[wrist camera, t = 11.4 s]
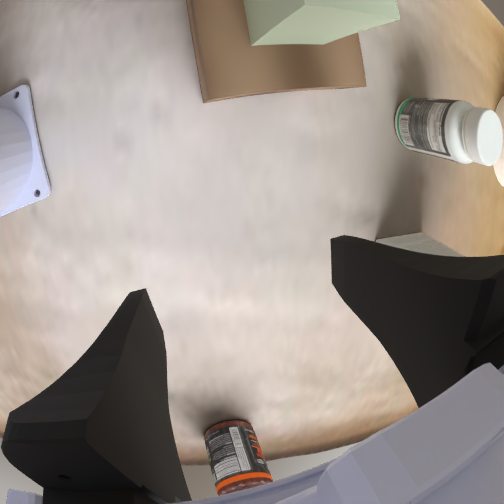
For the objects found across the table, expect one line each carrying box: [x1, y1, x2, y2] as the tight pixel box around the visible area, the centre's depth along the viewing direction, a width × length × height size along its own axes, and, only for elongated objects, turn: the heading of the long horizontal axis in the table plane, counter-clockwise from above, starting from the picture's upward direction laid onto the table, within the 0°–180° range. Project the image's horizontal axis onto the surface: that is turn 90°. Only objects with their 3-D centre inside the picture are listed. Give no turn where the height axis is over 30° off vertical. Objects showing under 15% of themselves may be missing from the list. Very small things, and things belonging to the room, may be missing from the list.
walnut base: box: [186, 0, 367, 103], centre depth 14 cm, size 10×10×3 cm
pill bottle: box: [395, 98, 503, 166], centre depth 18 cm, size 5×5×8 cm
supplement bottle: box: [204, 420, 273, 496], centre depth 26 cm, size 6×6×11 cm
